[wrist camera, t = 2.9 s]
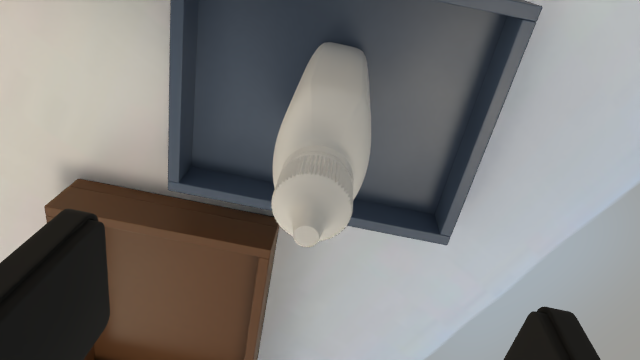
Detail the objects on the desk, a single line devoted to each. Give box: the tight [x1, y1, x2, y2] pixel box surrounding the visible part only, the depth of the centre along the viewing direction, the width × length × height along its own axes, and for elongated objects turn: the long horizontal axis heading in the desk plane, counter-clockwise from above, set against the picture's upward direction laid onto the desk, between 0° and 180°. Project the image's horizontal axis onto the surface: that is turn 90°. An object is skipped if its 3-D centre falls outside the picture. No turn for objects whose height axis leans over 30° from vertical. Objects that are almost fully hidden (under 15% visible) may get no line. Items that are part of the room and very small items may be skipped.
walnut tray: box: [45, 179, 279, 360], centre depth 28 cm, size 15×12×3 cm
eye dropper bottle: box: [271, 42, 371, 247], centre depth 17 cm, size 4×6×12 cm
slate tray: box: [168, 0, 542, 245], centre depth 21 cm, size 12×15×2 cm
